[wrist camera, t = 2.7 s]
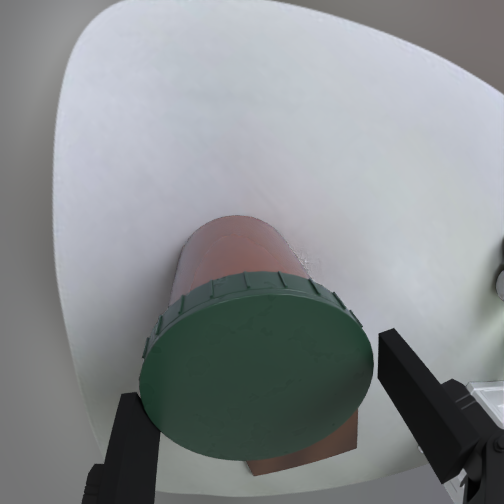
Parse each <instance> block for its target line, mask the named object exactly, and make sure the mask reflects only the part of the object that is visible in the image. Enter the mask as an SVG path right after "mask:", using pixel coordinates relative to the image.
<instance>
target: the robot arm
mask: <svg viewBox="0 0 504 504" xmlns="http://www.w3.org/2000/svg"><path fill="white" fill-rule="evenodd" d="M378 379H379V381H380V382H381V384H382V386H383V387H384V389H385V390H386V392H387V394H388V395H389V397H390V398H391V400H392V402H393V403H394V405H395V407H396V408H397V410H398V411H399V413H400V415H401V416H402V418H403V420H404V421H405V423H406V425H407V426H408V428H409V429H410V431H411V433H412V434H413V436H414V438H415V439H416V441H417V443H418V445H419V446H420V448H421V450H422V451H423V453H424V455H425V456H426V458H427V460H428V461H429V463H430V465H431V467H432V468H433V470H434V472H435V474H436V475H437V477H438V478H439V480H440V482H441V484H444V483H446V482H447V481H449V480H451V479H453V478H454V477H456V476H458V475H459V474H460V472H461V471H462V469H464V470H465V472H466V473H467V474H466V475H465V477H464V478H463V480H462V481H461V483H460V487H462V486H463V485H464V484H465V485H464V496H463V504H504V429H501V428H499V427H498V426H497V425H496V424H495V422H494V421H493V420H492V419H491V417H490V416H489V415H488V414H487V412H486V411H485V410H484V409H483V408H482V406H481V405H480V404H479V403H478V402H476V399H475V398H474V397H473V396H472V395H471V394H470V392H469V391H468V390H467V388H466V387H465V386H464V385H463V384H461V383H460V382H458V381H456V380H454V379H451V380H449V381H447V382H445V383H443V384H440V383H439V382H438V380H437V379H436V378H435V377H434V375H433V374H432V373H431V372H430V370H429V369H428V368H427V367H426V366H425V364H424V363H423V362H422V361H421V360H420V358H419V357H418V356H417V355H416V353H415V352H414V351H413V350H412V349H411V348H410V346H409V345H408V344H407V343H406V342H405V340H404V339H403V338H402V337H401V336H400V335H399V333H398V332H397V331H396V330H395V329H394V328H393V329H390V330H387V331H384V332H382V333H379V344H378ZM160 432H161V431H160V430H159V429H158V428H157V427H156V426H155V425H154V423H153V422H152V421H151V420H150V418H149V416H148V415H147V413H146V411H145V409H144V406H143V403H142V400H141V398H140V397H139V395H138V394H137V392H132V393H124V394H121V397H120V401H119V405H118V409H117V412H116V416H115V420H114V424H113V428H112V432H111V436H110V440H109V445H108V449H107V453H106V458H105V462H104V464H94V466H93V467H92V469H91V470H90V472H89V473H88V477H87V481H86V486H85V490H84V493H85V494H84V495H83V499H82V504H154V498H155V485H156V473H157V462H158V451H159V442H160Z"/></svg>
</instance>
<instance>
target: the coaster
mask: <svg viewBox="0 0 504 504" xmlns="http://www.w3.org/2000/svg"><path fill="white" fill-rule="evenodd" d="M357 425H358V408H357V410H356V411H355V412H354V413H353V415H352V416H351V417H350V418H349V419H348V420H347V421H346V422H345V423H344V424H343V425H342V426H340V427H339V428H338V429H337V430H336V431H334V432H333V433H331V434H330V435H328V436H327V437H326V438H324V439H322V440H320V441H319V442H317V443H315V444H313V445H311V446H309V447H307V448H304V449H302V450H299V451H296V452H294V453H291V454H287V455H284V456H280V457H275V458H270V459H263V460H252V461H246V462H247V464H248V466H249V468H250V470H251V472H252V474H253V476H258V475H263V474H268V473H272V472H277V471H281V470H285V469H289V468H293V467H297V466H301V465H305V464H308V463H312V462H316V461H319V460H322V459H326V458H329V457H332V456H335V455H338V454H341V453H344V452H347V451H350V450H353V449H356V448H357Z"/></svg>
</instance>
